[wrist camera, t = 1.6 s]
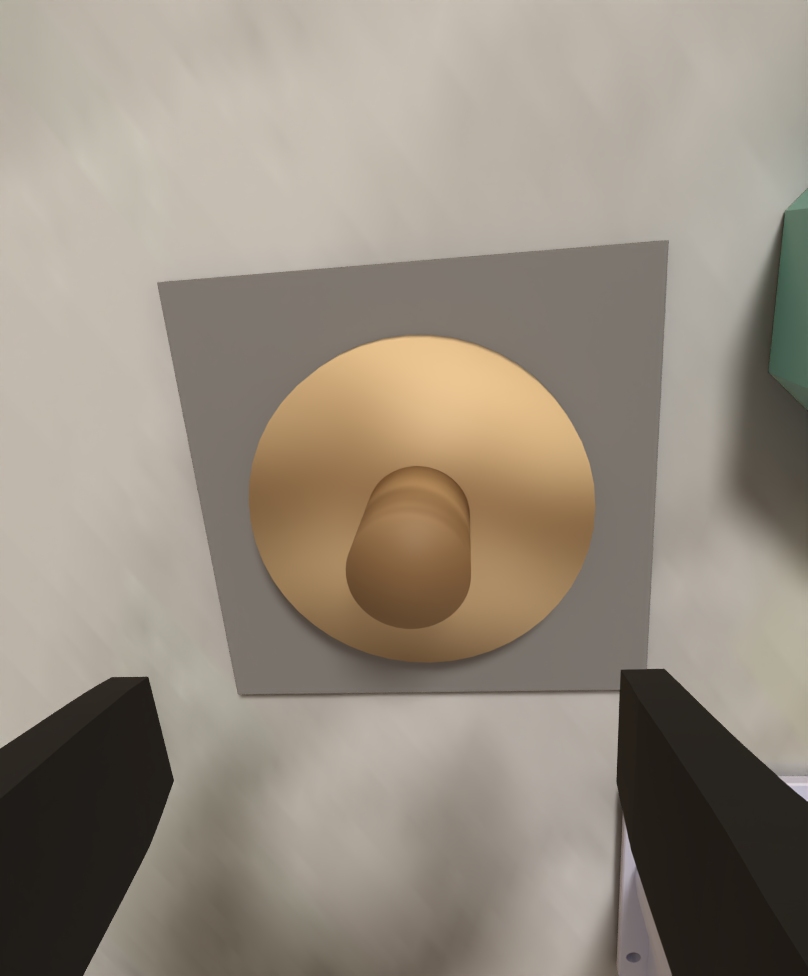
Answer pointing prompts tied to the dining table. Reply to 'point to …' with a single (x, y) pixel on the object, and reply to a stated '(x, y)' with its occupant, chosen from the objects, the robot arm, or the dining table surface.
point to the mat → (467, 316)
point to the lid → (422, 499)
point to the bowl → (792, 305)
